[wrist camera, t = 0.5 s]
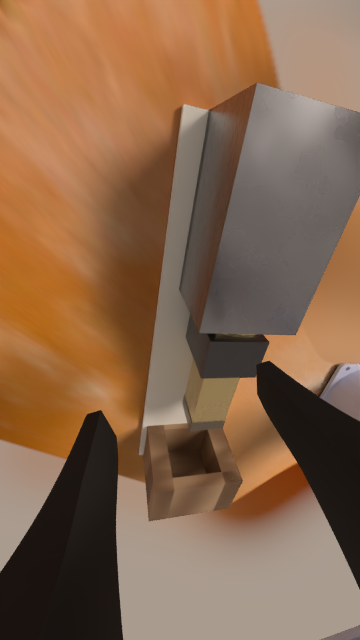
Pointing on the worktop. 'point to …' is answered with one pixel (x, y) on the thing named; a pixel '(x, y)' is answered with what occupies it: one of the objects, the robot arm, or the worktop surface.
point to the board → (174, 286)
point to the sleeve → (268, 209)
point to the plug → (217, 373)
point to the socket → (188, 471)
